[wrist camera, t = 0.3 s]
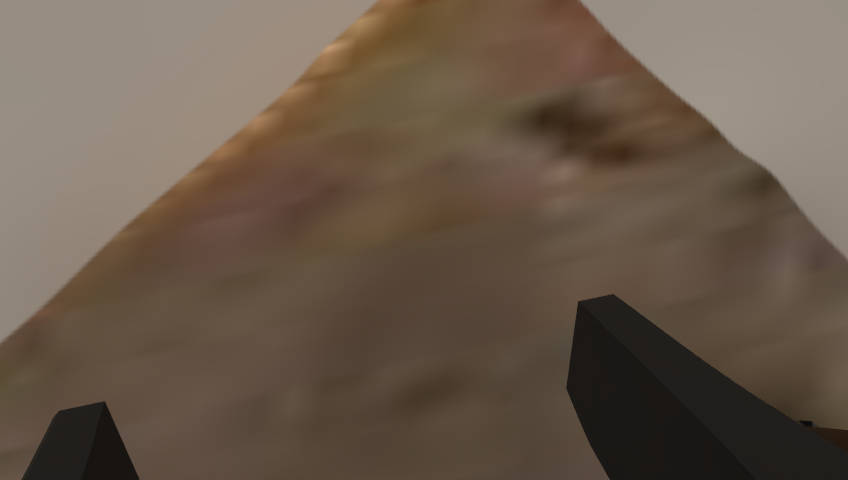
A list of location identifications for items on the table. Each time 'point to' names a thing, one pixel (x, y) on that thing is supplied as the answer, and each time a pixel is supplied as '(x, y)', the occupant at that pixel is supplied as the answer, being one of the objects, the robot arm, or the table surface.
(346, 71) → the table surface
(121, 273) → the table surface
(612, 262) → the table surface
